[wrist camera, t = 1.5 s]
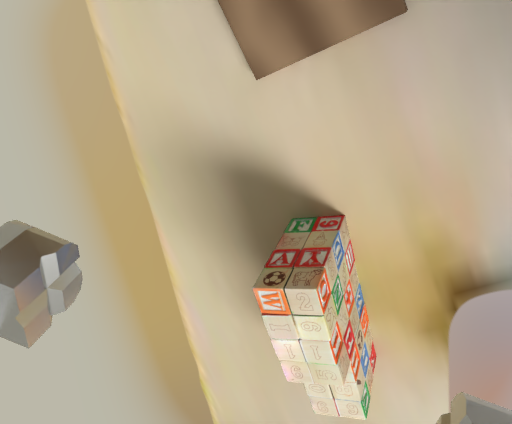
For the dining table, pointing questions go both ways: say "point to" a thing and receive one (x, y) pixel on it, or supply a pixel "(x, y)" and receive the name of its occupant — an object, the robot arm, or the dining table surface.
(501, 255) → the dining table surface
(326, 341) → the stack of blocks
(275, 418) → the dining table surface
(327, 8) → the walnut coaster
